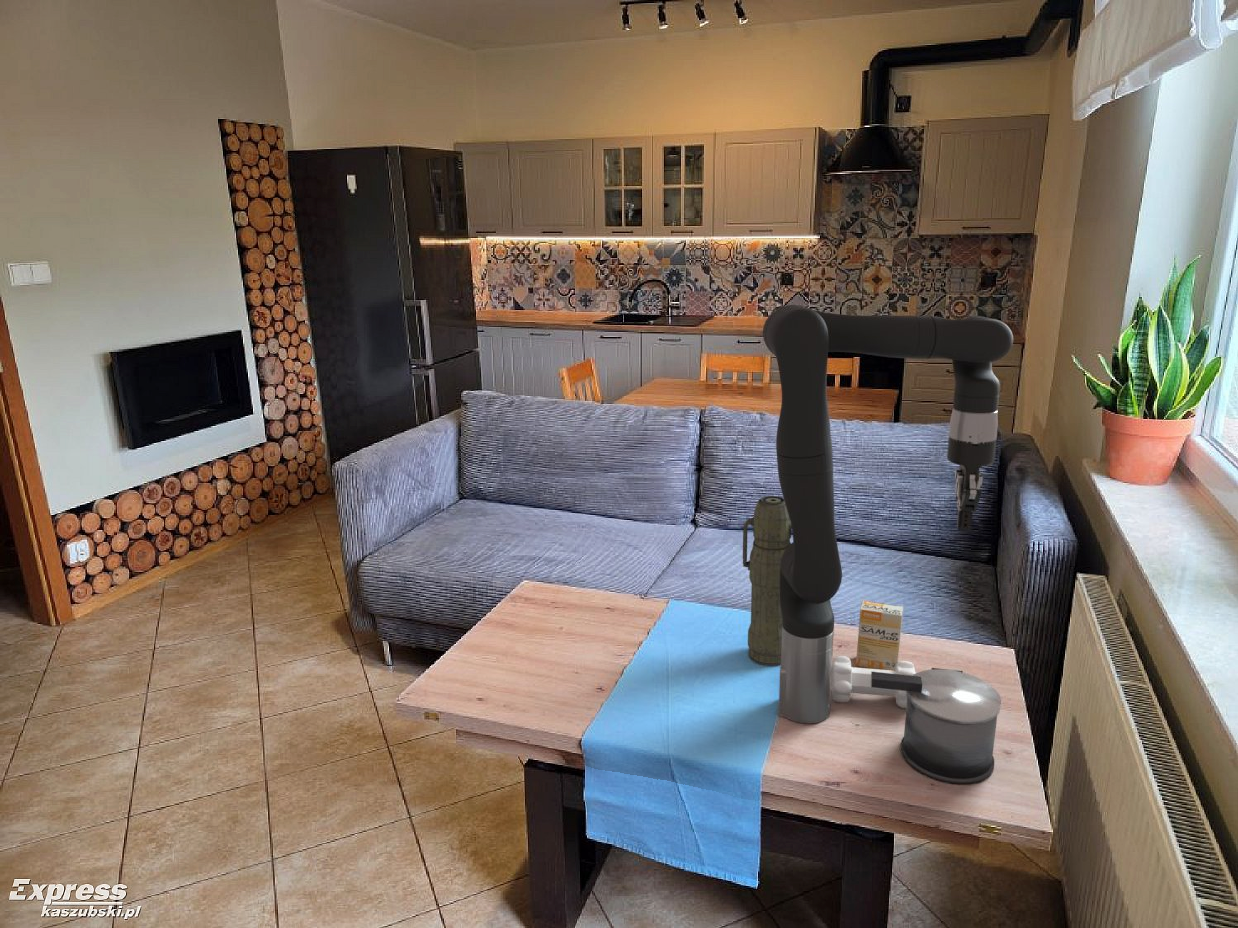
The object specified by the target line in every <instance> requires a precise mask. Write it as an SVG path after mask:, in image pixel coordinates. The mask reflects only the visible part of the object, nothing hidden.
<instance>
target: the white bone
mask: <svg viewBox="0 0 1238 928" xmlns="http://www.w3.org/2000/svg"><path fill="white" fill-rule="evenodd" d="M871 671H872V672H881V673H891V674H900V675H910V676H912V675H914V674H916V673H917V672H916V670H915V665H914V663H912V662H911V661H909V660H908V661H907V660H900V661H898V663H897V664H896V670H895V671H891V670H879V669H873V668H867V667H855V666H854V667H853V666H852V661H851V659H850V658H849V657H848V656H845V655H838V656H835V657H834V658H832V683H831V691H832V695H831V696H832V699H833V701H835V702H837V703H844V704H845V703H848V702H849V701H850V700H851V694H861V695H871V696H881V697H882V696H883V697H892V698H893V697H894V698H895V704H896V705H897V706H898V707H899V708H901V709H906V706H907V696H906V691H902V690H893V689H883V688H874V687H871Z"/></svg>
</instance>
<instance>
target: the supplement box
mask: <svg viewBox="0 0 1238 928" xmlns="http://www.w3.org/2000/svg"><path fill="white" fill-rule="evenodd" d="M860 604H861V605H860V610H859V619H858V620H859V621H858V623H859V624H858V631H857V632H858V634H857V636H858V637H857V645H856V646H857V647H856V651H857V652H856V660H855V661H856V662H855V666H856V667H859V668H867V669H879V670H891V671H895V670H896V664H897V663H898V662H899V657H900V649H901V648H900V647H901V637H902V627H903V625H902V623H903V615H904V614H903V613H904V606H901V605H895V604H894V605H893V604H887V603H881V602H875V601H868V600H861V603H860Z"/></svg>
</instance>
